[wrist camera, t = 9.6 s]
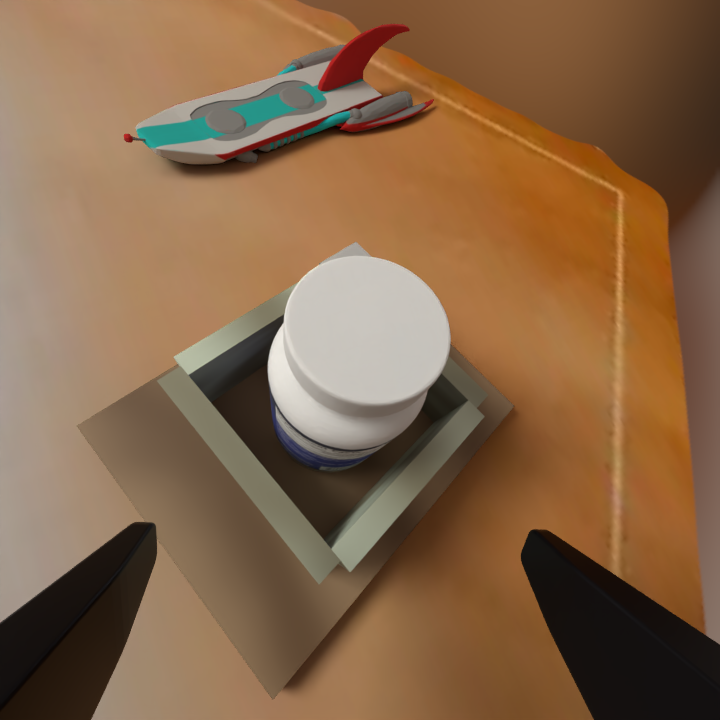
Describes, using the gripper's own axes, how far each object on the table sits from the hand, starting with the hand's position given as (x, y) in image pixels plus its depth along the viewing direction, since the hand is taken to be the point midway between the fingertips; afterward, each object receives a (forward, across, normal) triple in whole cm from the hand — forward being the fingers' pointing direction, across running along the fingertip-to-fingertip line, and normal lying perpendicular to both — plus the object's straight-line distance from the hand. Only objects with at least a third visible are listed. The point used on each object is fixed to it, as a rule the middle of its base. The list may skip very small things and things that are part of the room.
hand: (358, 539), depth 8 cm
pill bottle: (+10, 0, +2) cm, 10 cm away
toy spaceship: (+30, +4, -16) cm, 34 cm away
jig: (+11, 0, +3) cm, 11 cm away
